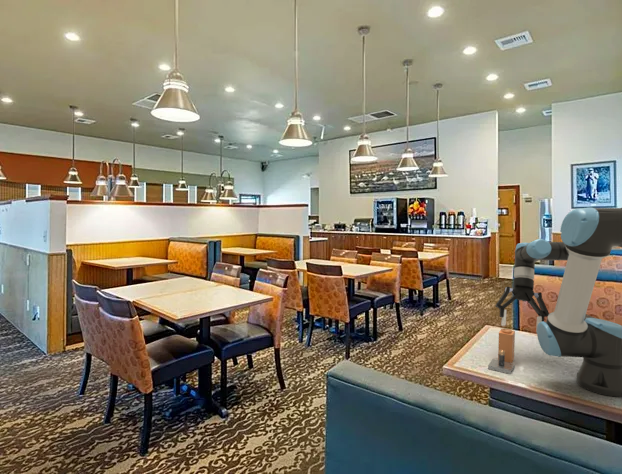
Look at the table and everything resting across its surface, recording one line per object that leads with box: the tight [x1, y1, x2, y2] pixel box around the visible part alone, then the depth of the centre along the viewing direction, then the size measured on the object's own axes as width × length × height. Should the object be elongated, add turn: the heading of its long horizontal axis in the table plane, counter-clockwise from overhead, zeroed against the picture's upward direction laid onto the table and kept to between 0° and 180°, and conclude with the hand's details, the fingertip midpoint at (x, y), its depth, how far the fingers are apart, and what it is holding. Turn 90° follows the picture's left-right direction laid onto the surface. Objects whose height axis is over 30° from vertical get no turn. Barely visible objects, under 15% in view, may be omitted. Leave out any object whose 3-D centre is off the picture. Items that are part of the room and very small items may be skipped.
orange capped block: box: [497, 328, 516, 363], centre depth 155 cm, size 5×5×13 cm
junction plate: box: [487, 350, 516, 375], centre depth 148 cm, size 8×8×7 cm
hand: (520, 329), depth 155 cm, fingers open, 13 cm apart
